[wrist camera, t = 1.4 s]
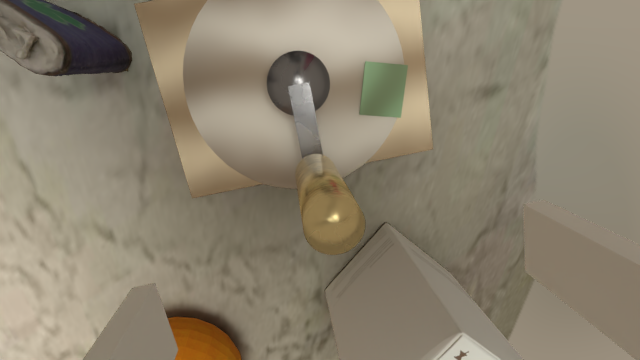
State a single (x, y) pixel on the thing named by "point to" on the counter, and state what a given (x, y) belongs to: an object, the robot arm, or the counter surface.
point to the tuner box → (251, 84)
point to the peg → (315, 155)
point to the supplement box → (407, 308)
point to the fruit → (201, 340)
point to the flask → (58, 40)
